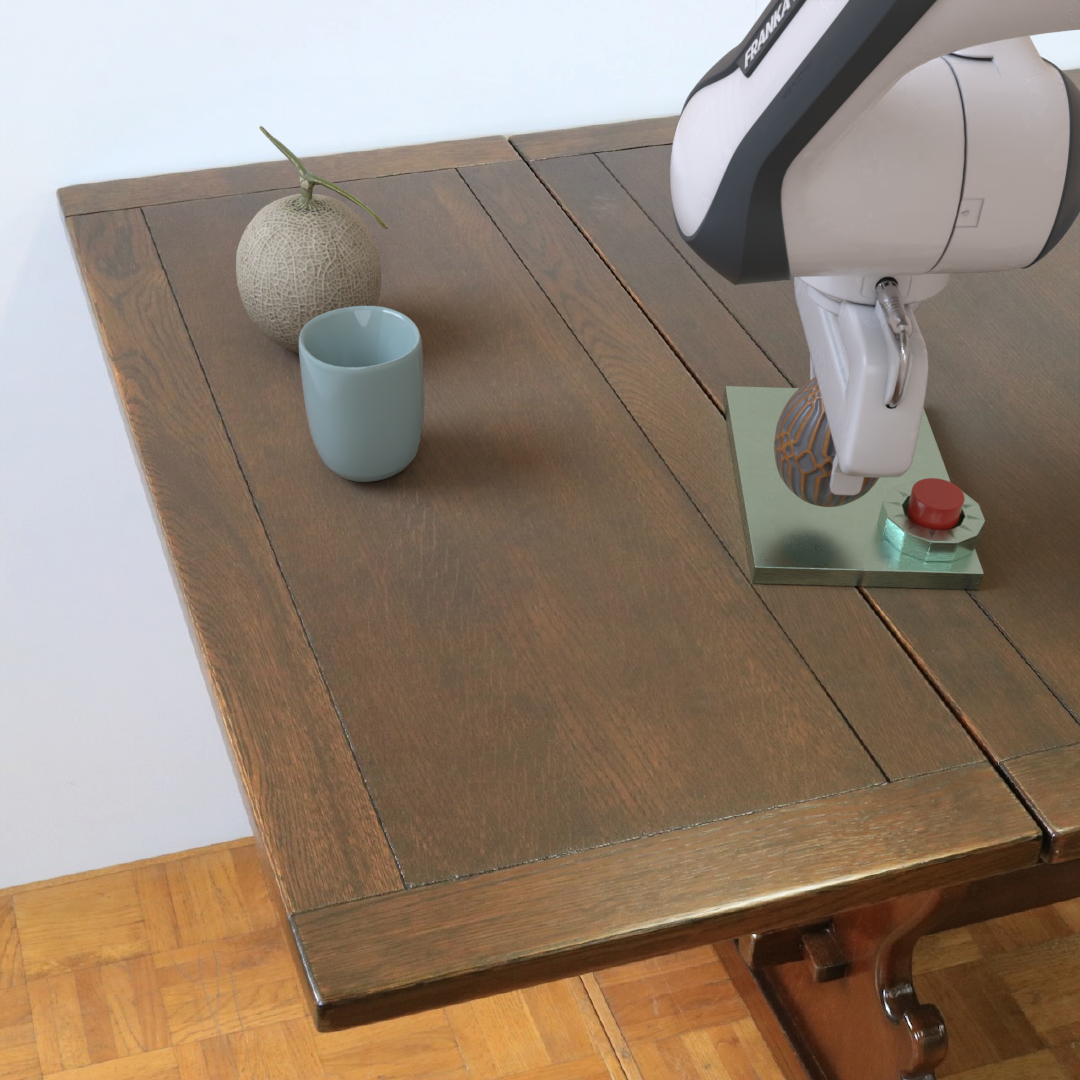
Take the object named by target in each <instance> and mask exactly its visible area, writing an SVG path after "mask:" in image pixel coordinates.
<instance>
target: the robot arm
mask: <svg viewBox="0 0 1080 1080" xmlns="http://www.w3.org/2000/svg"><path fill="white" fill-rule="evenodd" d="M1078 30H1079V31H1080V0H770V1H769V2H768V4H767V6H766V7H765V8H764V9H763V11H762V12H761V14H760V15H759V17H758V18H757V20H756V21H755V22H754V24H753V25H752V27H751V28H750V29H749V31H748V32H747V34H745V36H744V38H743V39H742V41H740V42H739V44H738V45H736V46H735V47H733V48H731V50H729V51H727V53H726V54H724V55H723V56H722V57H721V58H720V59H718V61H717V62H715V63H714V65H712V67H710V68H709V70H707V72H705V74H704V75H703V76H702V77H701V78H700V79H699V80H698V81H697V83H696V84H695V86H694V87H693V88H692V90H691V91H690V92H689V94H688V96H687V97H686V99H685V102H684V103H683V106H682V109H681V111H680V115H679V119H678V122H677V126H676V130H675V133H674V137H673V140H672V141H673V142H672V147H671V154H670V166H669V178H670V179H669V182H670V197H671V204H672V205H671V206H672V213H673V218H674V223H675V226H676V230H677V232H678V234H679V236H680V237H681V238H682V240H683V241H684V243H686V245H687V246H688V247H689V248H690V250H692V251H693V252H694V253H695V254H696V256H698V258H700V259H701V260H702V261H703V262H704V263H705V264H706V265H708V266H709V267H710V268H711V269H713V270H714V271H715V272H716V273H717V274H718V275H720V276H721V277H723V279H725V280H727V281H728V282H730V283H731V284H732V285H734V286H740V285H747V284H748V285H749V284H761V283H772V282H779V281H780V282H781V281H791V280H792V279H793V285H794V286H793V287H794V298H795V303H796V305H797V306H796V307H797V310H798V314H799V317H800V321H801V325H802V328H803V333H804V337H805V341H806V344H807V348H808V352H809V378H810V380H811V379H813V378H814V377H816V378H817V382H818V386H819V390H820V393H821V397H822V401H823V405H824V409H825V412H826V416H827V420H828V424H829V428H830V431H831V435H832V439H833V443H834V447H835V450H836V455H835V456H831V457H830V462H829V470H828V472H827V477H828V481H829V486H830V490H831V492H832V493H833V494H835V495H856V494H858V493H859V492H860V491H861V489H862V484H863V480H864V477H880V478H893V477H900V476H902V475H903V474H904V473H905V472H906V471H907V470H908V469H909V468H910V466H911V464H912V461H913V458H914V453H915V449H916V444H917V439H918V434H919V429H920V423H921V418H922V412H923V407H924V406H925V400H926V394H927V387H928V377H929V355H928V349H927V345H926V342H925V340H924V339H925V338H924V336H923V334H922V331H921V329H920V326H919V323H918V321H917V319H916V315H915V313H914V312H915V311H916V310H917V309H918V307H919V306H920V304H921V302H924V301H926V300H929V299H931V298H933V297H935V296H936V295H938V294H940V293H941V292H942V291H943V290H944V289H945V288H946V287H947V285H948V284H949V282H950V280H951V276H952V274H953V275H954V274H955V275H956V274H987V273H1000V272H1007V271H1012V270H1018V269H1021V270H1025V269H1029V268H1031V267H1032V266H1034V265H1035V264H1036V263H1039V261H1041V260H1042V259H1043V258H1044V257H1046V256H1047V255H1048V254H1049V253H1050V252H1051V251H1052V250H1053V249H1054V248H1055V247H1056V246H1057V245H1058V244H1059V243H1060V242H1061V240H1062V239H1063V238H1064V237H1065V235H1066V234H1067V232H1068V231H1069V230H1070V229H1071V227H1072V226H1073V224H1074V222H1075V220H1076V219H1077V218H1078V216H1079V215H1080V89H1079V88H1078V87H1077V85H1076V84H1075V83H1074V81H1073V80H1072V79H1071V78H1070V77H1069V76H1068V75H1067V74H1066V73H1065V72H1064V71H1063V70H1062V69H1061V68H1060V67H1058V66H1057V65H1056V64H1055V63H1053V62H1052V61H1050V60H1049V59H1046V58H1044V57H1043V56H1042V55H1040V53H1039V50H1037V47H1036V45H1035V44H1034V42H1033V39H1032V36H1038V35H1045V34H1053V33H1060V32H1069V31H1078ZM810 380H809V381H810Z"/></svg>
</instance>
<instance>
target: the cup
mask: <svg viewBox="0 0 1080 1080" xmlns="http://www.w3.org/2000/svg"><path fill="white" fill-rule="evenodd" d="M423 345H424V344H423V340H422V335H421V331H420V329H419V328H418V326H417V325H416V323H415V322H414V321H413V320H412V319H411V318H410V317H408V316H407V315H406V314H404V313H402V312H400V311H397V310H395V309H393V308H389V307H385V306H378V305H377V306H353V307H346V308H341V309H337V310H333V311H329V312H326V313H324V314H321V315H319V316H317V317H315V318H313V319H312V320H310V321H309V322H308V323H307V324H305V326H304V327H303V329H302V330H301V332H300V335H299V341H298V348H299V353H298V358H299V367H300V368H299V370H300V377H301V378H300V379H301V385H302V393H303V402H304V408H305V409H304V410H305V414H306V419H307V424H308V430H309V433H310V438H311V440H312V443H313V445H314V448H315V450H316V452H317V454H318V456H319V458H320V459H321V461H322V462H323V463H324V464H325V466H326V467H327V468H328V469H329V471H331V472H333V473H334V474H335V475H337V476H339V477H340V478H342V479H344V480H348V481H352V482H358V483H373V482H378V481H383V480H386V479H389V478H392V477H394V476H396V475H398V474H400V473H402V471H404V470H405V469H406V468H408V467H409V466H410V465H411V463H412V462H413V461H414V459H415V458H416V456H417V454H418V452H419V449H420V446H421V442H422V438H423V431H424V420H425V366H424V346H423Z"/></svg>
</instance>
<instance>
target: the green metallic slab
mask: <svg viewBox="0 0 1080 1080" xmlns="http://www.w3.org/2000/svg"><path fill="white" fill-rule="evenodd" d="M799 388H800V387H774V386H772V387H771V386H742V385H741V386H736V385H725V386H724V393H723V399H722V402H723V408H724V414H725V415H724V416H725V421H726V426H727V428H726V429H727V434H728V439H729V446H730V452H731V458H732V466H733V470H734V471H733V472H734V478H735V484H736V491H737V495H738V496H737V497H738V504H739V509H740V516H741V521H742V528H743V534H744V541H745V545H746V546H745V547H746V552H747V559H748V566H749V572H750V578H751V583H752V584H761V585H762V584H766V585H769V584H770V585H794V586H795V585H797V586H826V587H827V586H831V587H832V586H833V587H865V588H895V589H896V588H898V589H900V588H901V589H929V590H930V589H931V590H932V589H933V590H934V589H936V590H964V591H965V590H969V591H979V590H980V587H981V584H982V581H983V578H984V574H985V573H984V570H983V567H982V565H981V562H980V558H979V555H978V553H977V550H976V547H977V545H978V543H979V541H980V539H981V536H982V533H983V530H984V526H985V523H986V520H985V516H984V514H983V511H982V509H981V506H980V504H979V503H978V502H977V501H975V500H974V499H973V498H972V497H971V496H969V495H968V494H967V493H965V492H964V491H963V490H962V492H963V494H964V497H965V500H964V504H963V507H962V511H961V514H960V518H959V521H958V523H957V525H956V526H955V527H953V528H952V529H949V530H932V529H929V528H926V527H923V526H920V525H917V524H915V523H914V522H913V521H911V520H910V519H909V517H908V515H907V506H908V502H909V498H910V495H911V491H912V487H913V485H914V484H915V483H916V482H918V481H920V480H922V479H927V478H937V479H943V480H946V481H949V482H951V479H950V476H949V474H948V471H947V468H946V465H945V462H944V459H943V457H942V454H941V451H940V449H939V446H938V443H937V441H936V438H935V434H934V431H933V429H932V427H931V424H930V421H929V418H928V416H927V413H926V410H925V407H924V406H923V412H922V418H921V423H920V429H919V434H918V439H917V444H916V449H915V453H914V458H913V461H912V464H911V466H910V468H909V469H908V470H907V471H906V472H905V473H904V474H903V475H902V476H900V477H893V478H879V479H878V481H877V482H876V484H875V485H874V486H873V487H872V488H871V489H870V490H869V491H868V492H867V493H866V494H865V495H863V496H862V497H860V498H859V499H857V500H855V501H853V502H850V503H848V504H845V505H842V506H837V507H821V506H816V505H813V504H810V503H807V502H805V501H803V500H802V499H800V498H799V497H797V496H796V495H795V494H794V493H793V492H792V491H791V490H790V489H789V488H788V487H787V486H786V485H785V483H784V482H783V480H782V479H781V477H780V475H779V472H778V469H777V466H776V461H775V455H774V440H775V432H776V427H777V423H778V420H779V418H780V415H781V413H782V411H783V409H784V407H785V405H786V404H787V402H788V401H789V399H790V398H791V397H792V395H793V394H794V393H795V392H796V391H797V390H798V389H799Z"/></svg>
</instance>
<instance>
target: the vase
mask: <svg viewBox="0 0 1080 1080" xmlns="http://www.w3.org/2000/svg"><path fill="white" fill-rule="evenodd" d="M798 388H799V389H798V390H797V391H796V392H795V393H794V394H793V395H792V397H791V398H790V399H789V401H788V402H787V404H786V405H785V407H784V409H783V411H782V413H781V415H780V418H779V420H778V423H777V427H776V432H775V440H774V455H775V461H776V466H777V469H778V472H779V475H780V477H781V479H782V480H783V482H784V483H785V485H786V486H787V487H788V488H789V489H790V490H791V491H792V492H793V493H794V494H795V495H796V496H797V497H799V498H800V499H802V500H803V501H805V502H807V503H810V504H813V505H816V506H821V507H837V506H842V505H845V504H848V503H850V502H853V501H855V500H857V499H859V498H860V497H862V496H863V495H865V494H866V493H867V492H868V491H869V490H870V489H871V488H872V487H873V486H874V485H875V484H876V482H877V481H878V479H879V478H880V477H864V480H863V484H862V489H861V491H860V492H859V493H858V494H856V495H835V494H833V493H832V492H831V490H830V486H829V481H828V477H827V472H828V470H829V462H830V457H831V456H835V455H836V450H835V447H834V443H833V439H832V435H831V431H830V428H829V424H828V420H827V416H826V412H825V409H824V405H823V401H822V397H821V393H820V390H819V386H818V382H817V378H816V377H814V378H813V379H811V380H808V381H807V382H806V383H804V384H803V385H801V386H800V387H798Z"/></svg>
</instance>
